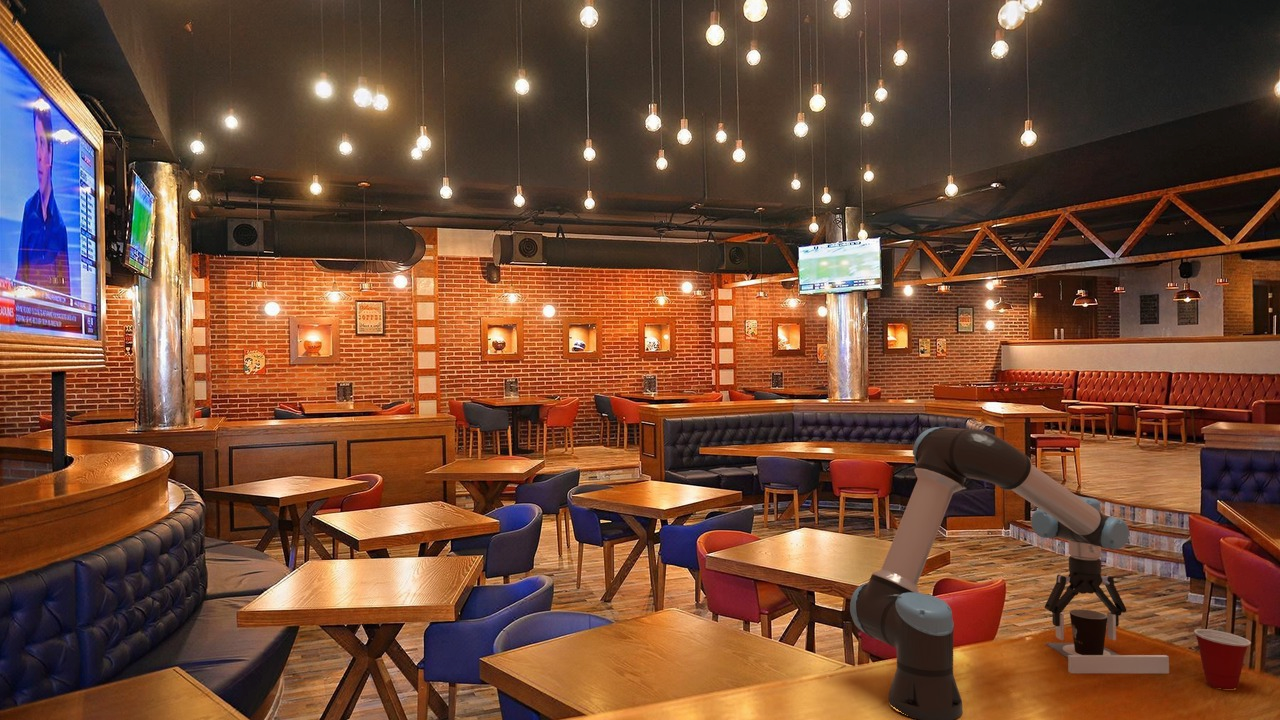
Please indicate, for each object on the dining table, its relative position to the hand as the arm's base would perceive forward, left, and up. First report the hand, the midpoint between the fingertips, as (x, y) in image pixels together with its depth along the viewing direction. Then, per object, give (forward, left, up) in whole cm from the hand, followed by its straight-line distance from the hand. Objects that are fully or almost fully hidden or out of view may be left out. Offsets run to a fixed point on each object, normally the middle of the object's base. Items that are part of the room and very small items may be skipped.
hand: (1085, 638), depth 209 cm
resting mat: (0, 0, -4) cm, 4 cm away
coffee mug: (+1, 0, -3) cm, 4 cm away
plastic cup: (+19, -23, -4) cm, 30 cm away
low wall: (0, -14, -4) cm, 14 cm away
